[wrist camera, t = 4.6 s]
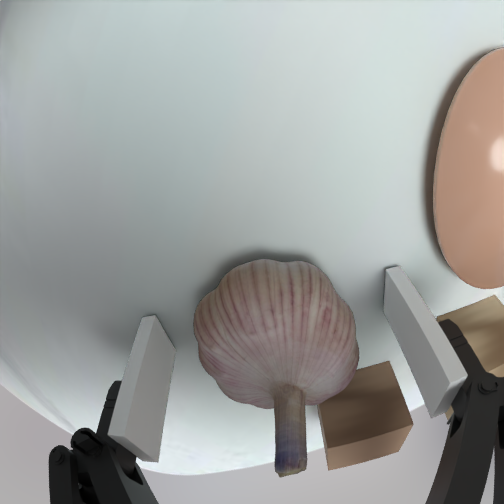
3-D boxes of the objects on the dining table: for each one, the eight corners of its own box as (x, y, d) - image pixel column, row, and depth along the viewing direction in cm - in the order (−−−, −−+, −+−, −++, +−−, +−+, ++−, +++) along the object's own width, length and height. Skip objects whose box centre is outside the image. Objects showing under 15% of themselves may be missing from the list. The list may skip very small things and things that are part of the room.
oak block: (423, 364, 18) (448, 420, 14) (436, 315, 15) (473, 379, 11) (475, 343, 17) (504, 391, 13) (494, 294, 15) (533, 346, 11)
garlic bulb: (301, 369, 17) (321, 495, 10) (179, 341, 15) (157, 484, 8) (375, 271, 13) (451, 419, 7) (226, 217, 12) (210, 407, 5)
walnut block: (318, 412, 20) (328, 470, 16) (313, 378, 18) (327, 448, 13) (381, 396, 20) (398, 451, 15) (388, 359, 17) (413, 424, 13)
